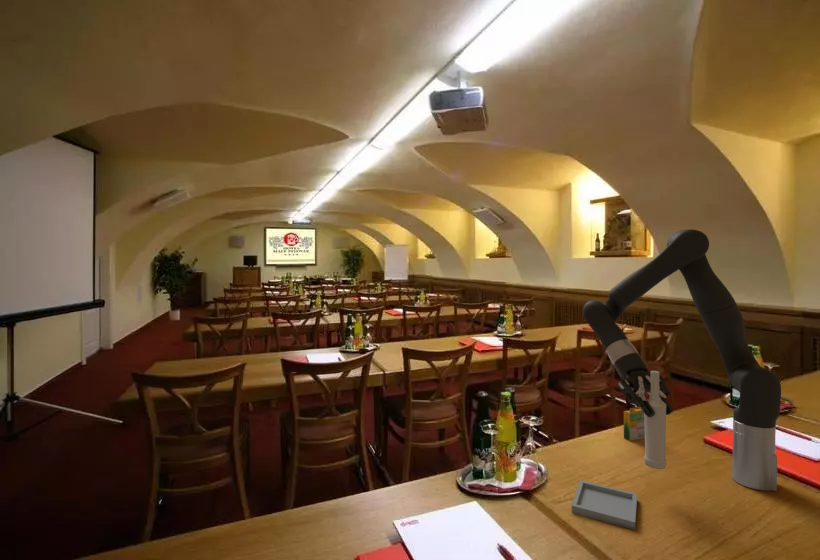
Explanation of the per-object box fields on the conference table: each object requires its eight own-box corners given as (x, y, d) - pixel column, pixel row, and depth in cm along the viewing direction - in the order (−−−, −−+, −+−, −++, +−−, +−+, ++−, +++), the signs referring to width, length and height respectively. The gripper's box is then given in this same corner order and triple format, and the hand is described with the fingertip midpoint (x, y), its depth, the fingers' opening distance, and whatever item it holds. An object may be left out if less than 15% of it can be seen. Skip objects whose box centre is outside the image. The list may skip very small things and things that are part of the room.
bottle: (663, 461, 112) (663, 369, 111) (668, 470, 107) (668, 374, 106) (642, 459, 113) (641, 368, 113) (646, 468, 109) (645, 373, 108)
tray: (637, 500, 109) (637, 493, 109) (635, 529, 97) (635, 522, 97) (580, 486, 116) (580, 480, 116) (571, 512, 104) (571, 505, 104)
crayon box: (639, 435, 150) (639, 403, 150) (646, 438, 147) (646, 406, 147) (623, 437, 148) (623, 405, 148) (629, 441, 145) (630, 408, 145)
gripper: (611, 353, 115) (646, 411, 103) (654, 349, 118) (692, 405, 107) (598, 368, 120) (630, 424, 109) (639, 364, 123) (674, 418, 112)
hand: (660, 414), depth 108 cm, fingers closed on bottle, 5 cm apart
